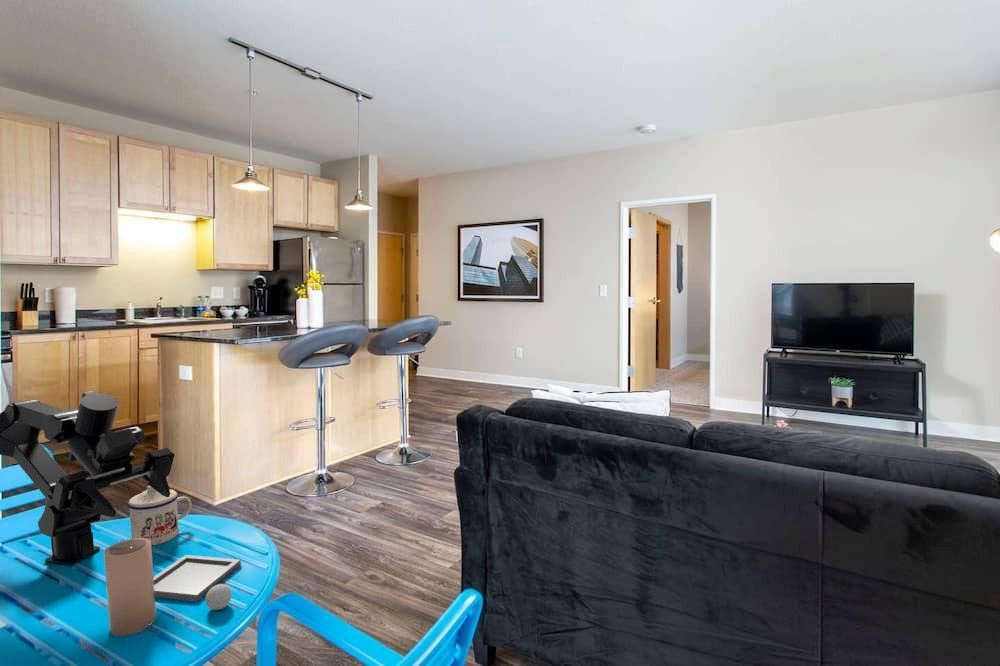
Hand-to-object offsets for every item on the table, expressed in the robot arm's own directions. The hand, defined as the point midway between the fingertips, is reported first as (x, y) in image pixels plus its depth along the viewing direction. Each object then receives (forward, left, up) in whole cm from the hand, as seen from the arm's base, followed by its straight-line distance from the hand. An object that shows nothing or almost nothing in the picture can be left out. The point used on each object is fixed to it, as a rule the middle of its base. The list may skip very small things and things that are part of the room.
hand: (142, 504), depth 96 cm
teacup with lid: (-14, +19, -16) cm, 28 cm away
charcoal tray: (+5, +4, -16) cm, 17 cm away
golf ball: (+16, -3, -16) cm, 23 cm away
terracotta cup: (+5, -9, -16) cm, 19 cm away
